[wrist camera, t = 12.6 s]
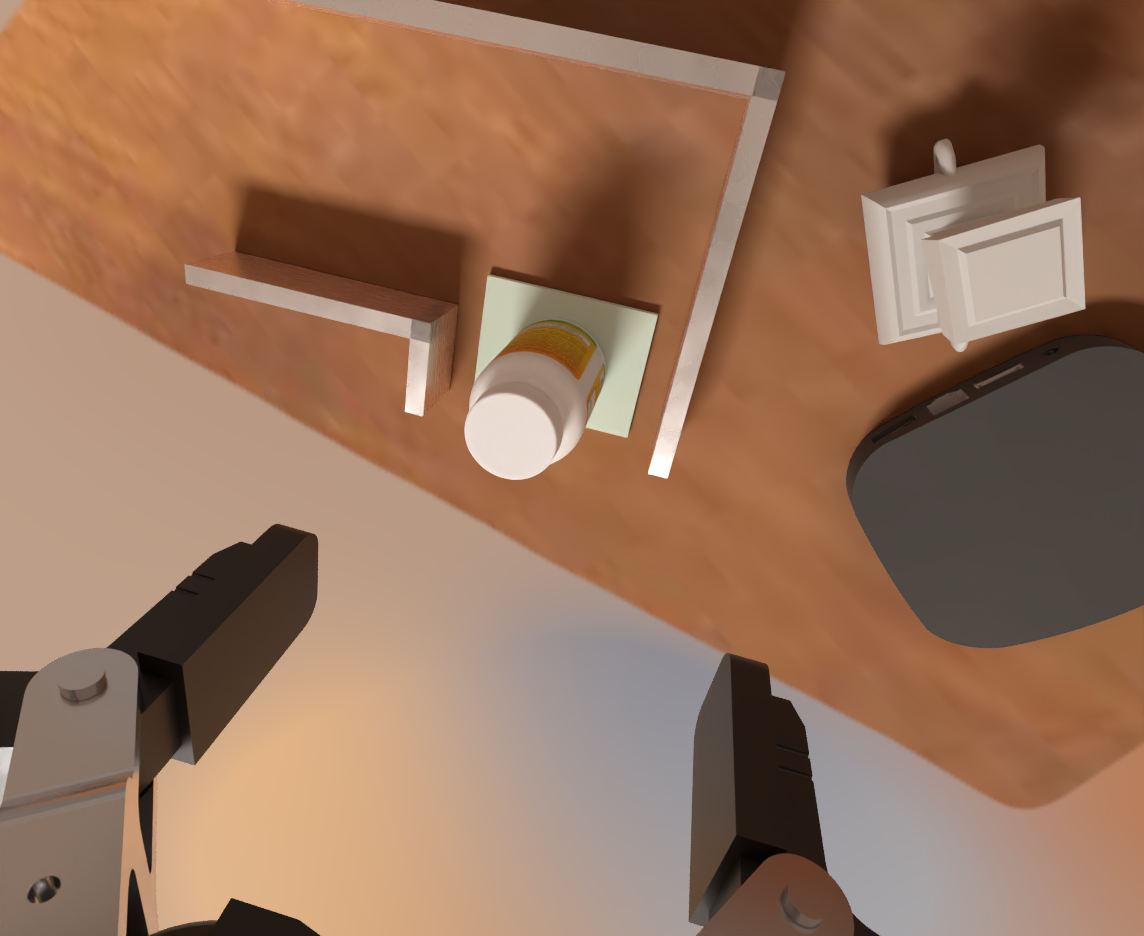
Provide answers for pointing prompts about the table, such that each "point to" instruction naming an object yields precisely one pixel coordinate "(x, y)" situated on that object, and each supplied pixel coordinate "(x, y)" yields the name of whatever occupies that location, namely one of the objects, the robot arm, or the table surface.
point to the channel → (434, 321)
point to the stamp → (973, 249)
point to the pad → (609, 323)
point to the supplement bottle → (534, 399)
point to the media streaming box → (1014, 495)
